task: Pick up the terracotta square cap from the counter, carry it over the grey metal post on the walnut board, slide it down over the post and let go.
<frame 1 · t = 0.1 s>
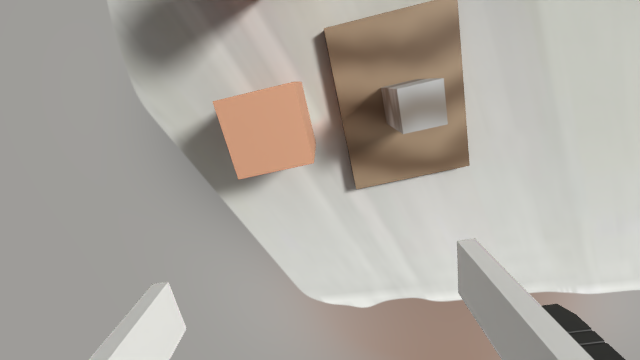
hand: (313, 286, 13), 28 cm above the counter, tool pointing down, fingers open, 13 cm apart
cap: (278, 120, 39), on the counter
post stand: (398, 100, 38), on the counter
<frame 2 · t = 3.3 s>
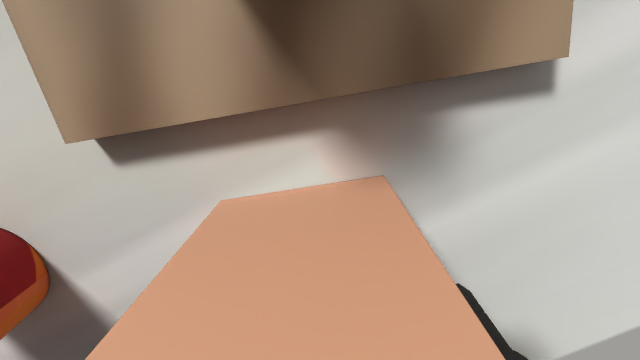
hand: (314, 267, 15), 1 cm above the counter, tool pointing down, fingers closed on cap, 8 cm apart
cap: (314, 259, 16), on the counter, touching gripper
paper cup: (1, 269, 16), on the counter
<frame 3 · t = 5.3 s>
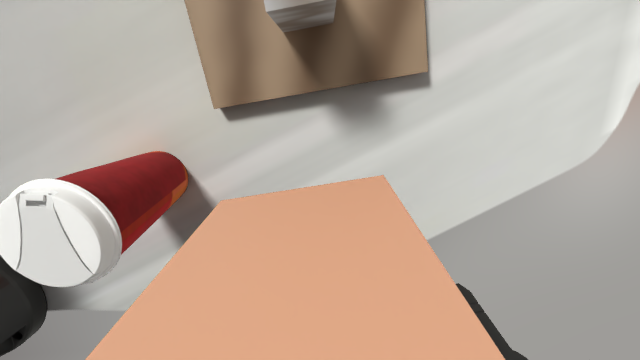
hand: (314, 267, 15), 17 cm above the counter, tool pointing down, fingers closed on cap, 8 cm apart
cap: (315, 258, 16), point 17 cm above the counter, touching gripper
post stand: (304, 3, 26), on the counter
paper cup: (163, 176, 32), on the counter
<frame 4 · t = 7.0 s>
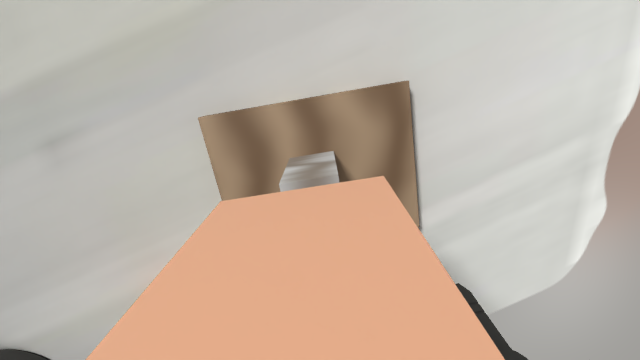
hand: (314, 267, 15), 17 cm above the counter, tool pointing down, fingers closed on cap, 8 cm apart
cap: (315, 259, 16), point 17 cm above the counter, touching gripper
post stand: (315, 171, 31), on the counter
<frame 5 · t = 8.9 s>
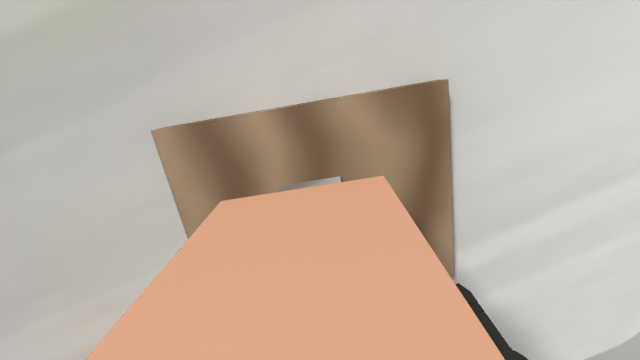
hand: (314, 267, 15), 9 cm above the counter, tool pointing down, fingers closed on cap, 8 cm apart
cap: (315, 259, 16), point 8 cm above the counter, touching gripper
post stand: (315, 201, 23), on the counter
when the fingers open (4 cm above the counter, at t = 10.8 s): cap drops 1 cm, resting on post stand.
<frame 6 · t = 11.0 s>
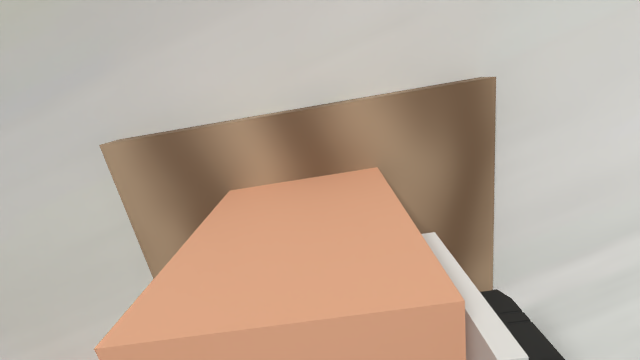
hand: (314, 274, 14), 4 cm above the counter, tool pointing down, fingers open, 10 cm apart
cap: (315, 244, 17), point 1 cm above the counter, touching post stand
post stand: (316, 231, 18), on the counter
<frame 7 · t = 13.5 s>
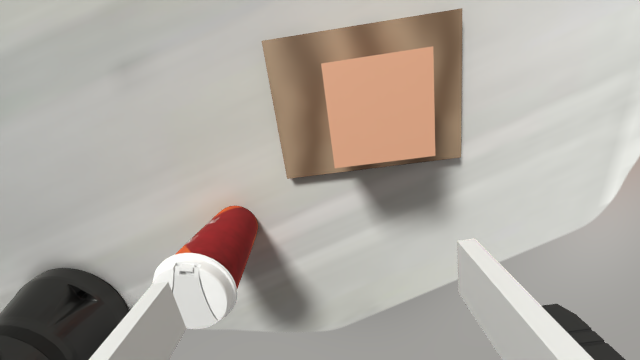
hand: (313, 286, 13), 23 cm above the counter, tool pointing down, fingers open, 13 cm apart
cap: (365, 102, 32), point 1 cm above the counter, touching post stand
post stand: (364, 101, 33), on the counter
paper cup: (237, 224, 39), on the counter
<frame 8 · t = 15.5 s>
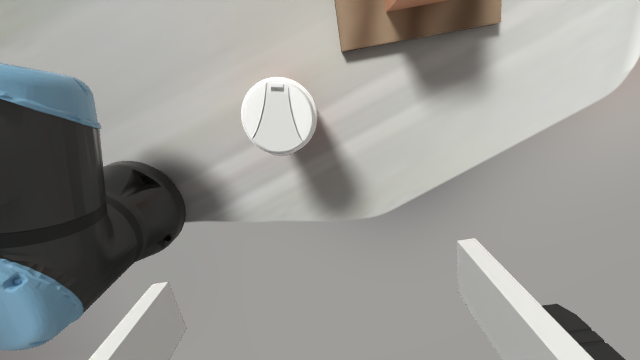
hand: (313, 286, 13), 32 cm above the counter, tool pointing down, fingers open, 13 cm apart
paper cup: (291, 107, 42), on the counter
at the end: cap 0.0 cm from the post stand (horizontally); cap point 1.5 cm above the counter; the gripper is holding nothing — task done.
